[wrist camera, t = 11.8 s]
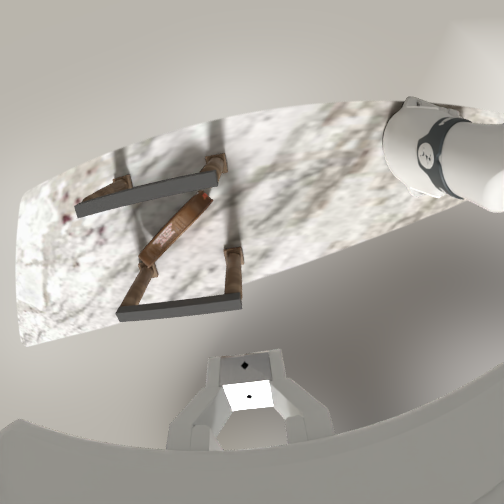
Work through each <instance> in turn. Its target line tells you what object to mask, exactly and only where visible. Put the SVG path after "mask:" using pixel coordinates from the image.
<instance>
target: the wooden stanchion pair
mask: <svg viewBox="0 0 504 504" xmlns="http://www.w3.org/2000/svg"><path fill="white" fill-rule="evenodd" d="M205 160H206V165H205V166H204V167H203V169H202V170H201V171H200V172H205V171H211V170H216V173H217V178H218V181H219V179H220V176H221V173H227V172H228V169H227V163H226V158H225V153H222V154H217V155H211V156H206V157H205ZM200 172H199V173H200ZM130 188H133V186H132V182H131V178H130V174H129V175H125V176H122V177H118V178H115V179H113V183H112V184H110V185H108V186H106V187H104V188H102V189H100V190H98V191H97V192H95V193H93V194H91V195H89V196H88V197H86V198H84V199H83V201H82V202H84V201H87V200H90V199H94V198H97V197H101V196H104V195H108V194H111V193H115V192H118V191H122V190H126V189H130ZM211 188H212V187H211ZM91 215H92V214H91ZM224 256H225V260H226V278H225V293H224V294H230V293H237V292H240V296H241V300H242V274H241V265H243V264H244V260H243V254H242V249H241V247H236V248H230V249H224ZM138 267H139V269H140V272H139V274H138V275H137V277H136V279H135V281H134V282H133V284H132V286H131V287H130V289H129V291H128V293H127V294H126V296H125V298H124V300H123V302H122V303H121V305H120V307H122V306H132V305H138V304H139V302H140V300H141V298H142V296H143V294H144V292H145V290H146V288H147V286H148V284H149V282H150V280H151V278H155V277H158V272H157V269H156V266H155V263H154V264H153V265H152V266H150V267H149V268H148V267H147V265H146V264H145V263H144V262H142V263H139V264H138Z"/></svg>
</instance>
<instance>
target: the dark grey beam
mask: <svg viewBox="0 0 504 504" xmlns="http://www.w3.org/2000/svg"><path fill="white" fill-rule="evenodd" d="M239 309H242V301H241V296H240V292H237V293H230V294H223V295H216V296H209V297H201V298H193V299H185V300H177V301H168V302H160V303H151V304H141V305H132V306H122V307H119V308H118V310H117V312H116V315H117V317H118V319H119V321H120V322H126V321H139V320H151V319H161V318H171V317H182V316H190V315H200V314H208V313H216V312H224V311H231V310H239Z"/></svg>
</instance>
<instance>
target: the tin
mask: <svg viewBox="0 0 504 504" xmlns="http://www.w3.org/2000/svg"><path fill="white" fill-rule="evenodd" d="M212 202H213V199H211V198H210V197H209V196H208V195H207V194H206V193H205V192H204V191H202V190H200V191H198V192H197V193H196V194H195V195H194V196H193V197H192V198H191V199H190V200H189V201H188V202H187V203H186V204H185V205H184V206H183V207H182V208H181V209H180V210H179V211H178V212H177V213H176V214H175V215H174V216H173V217H172V218H171V219H170V220H169V221H168V223H167V224H166V225H165V226H164V227H163V228H162V229H161V230H160V231H159V232H158V233H157V234H156V235H155V237H154V238H153V239H152V240H151V241H150V242H149V243H148V245H147V246H146V247H145V248H144V249H143V250H142V252H141V253H140V254H139V256H138V257H139V258H140V259H141V261H143V262H144V263H145V264H146V265H147V267H148V268H149V267H150V266H152V265H153V264H154V263H155V262H156V260H157V259H158V258H159V257H160V256H161V255H162V254H163V253H164V252H165V251H166V250H167V249H168V248H169V247H170V246H171V245H172V244H173V243H174V242H175V241H176V240H177V239H178V238H179V237H180V236H181V235H182V234H183V233H184V232H185V231H186V230H187V229H188V228H189V227H190V226H191V225H192V224H193V223H194V221H195V220H196V219H197V218H198V217H199V216H200V215H201V214H202V213H203V212H204V211H205V210H206V209H207V208H208V207H209V205H210V204H211V203H212Z"/></svg>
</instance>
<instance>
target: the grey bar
mask: <svg viewBox="0 0 504 504" xmlns="http://www.w3.org/2000/svg"><path fill="white" fill-rule="evenodd" d="M217 186H218V178H217V173H216V170H211V171H205V172H200V173H195V174H190V175H185V176H180V177H176V178H171V179H167V180H162V181H158V182H154V183H149V184H145V185H141V186H137V187H133V188H130V189H126V190H122V191H118V192H115V193H111V194H108V195H104V196H101V197H97V198H94V199H90V200H87V201H84V202H81V203H79V204H77V205H76V206H74V207H75V211H76V214H77V217H78V218H81V217H84V216H88V215H91V214H95V213H99V212H103V211H106V210H110V209H114V208H118V207H122V206H126V205H130V204H134V203H139V202H143V201H147V200H152V199H156V198H161V197H165V196H170V195H175V194H180V193H185V192H190V191H195V190H200V189H205V188H211V187H217Z"/></svg>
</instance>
